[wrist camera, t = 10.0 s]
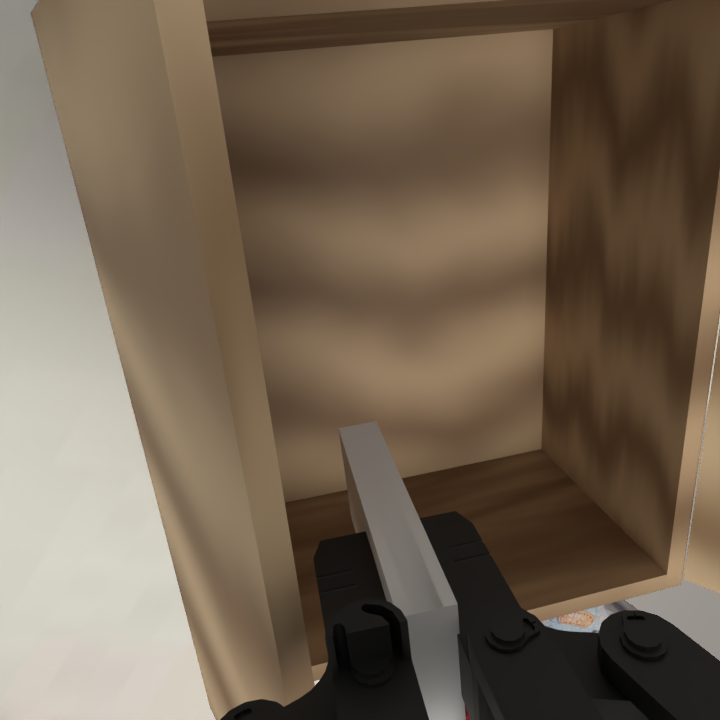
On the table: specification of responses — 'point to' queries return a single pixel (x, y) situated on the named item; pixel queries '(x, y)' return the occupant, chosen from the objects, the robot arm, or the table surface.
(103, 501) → the table surface
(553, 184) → the carton
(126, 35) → the left flap
